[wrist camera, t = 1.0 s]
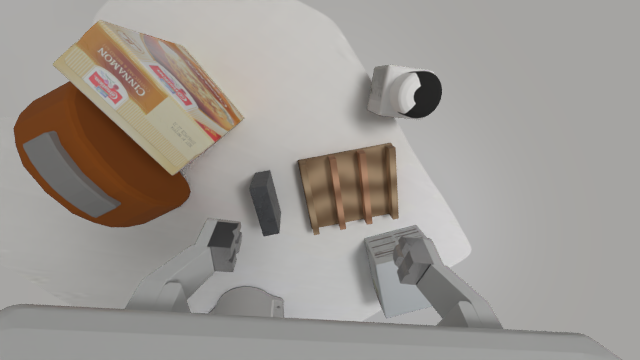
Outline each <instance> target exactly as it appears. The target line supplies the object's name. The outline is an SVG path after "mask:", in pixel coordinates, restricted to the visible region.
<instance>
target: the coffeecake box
mask: <svg viewBox="0 0 640 360" xmlns="http://www.w3.org/2000/svg"><path fill="white" fill-rule="evenodd" d="M53 66H54V67H56V68H57V69H58V70H59V71H60V72H61V73H62V74H63V75H64V76H65V77H66V78H67V79H68V80H69V81H70V82H72V83H73V84H74V85H75V86H76V87H77V88H78V89H79V90H80V91H81V92H82V93H83V94H84V95H86V96H87V97H88V98H89V99H90V100H91V101H92V102H93V103H94V104H95V105H96V106H97V107H98V108H99V109H101V110H102V111H103V112H104V113H105V114H106V115H107V116H108V117H109V118H110V119H111V120H113V121H114V122H115V123H116V124H117V125H118V126H119V127H120V128H121V129H122V130H123V131H124V132H126V133H127V134H128V135H129V136H130V137H131V138H132V139H133V140H134V141H135V142H136V143H137V144H138V145H140V146H141V147H142V148H143V149H144V150H145V151H146V152H147V153H148V154H149V155H150V156H151V157H152V158H154V159H155V160H156V161H157V162H158V163H159V164H160V165H161V166H162V167H163V168H164V169H165V170H166V171H168V172H169V173H170V174H171V175H174V174H176V173H177V172H178V171H180V170H181V169H182V168H184V167H185V166H186V165H188V164H189V163H190V162H192V161H193V160H194V159H196V158H197V157H198V156H199V155H201V154H202V153H203V152H205V151H206V150H207V149H208V148H210V147H211V146H212V145H213V144H215V143H216V142H217V141H218V140H219V139H220V138H222V137H223V136H224V135H225V134H227V133H228V132H229V131H230V130H232V129H233V128H234V127H235V126H236V125H237V124H239V123H240V122H241V121H242V120H243V119H244V117H243V116H242V115H241V114H240V112H239V111H238V110H237V109H236V108H235V106H234V105H233V104H232V103H231V102H230V100H229V99H228V98H227V97H226V96H225V95H224V93H223V92H222V91H221V90H220V89H219V88H218V86H217V85H216V84H215V83H214V82H213V80H212V79H211V78H210V77H209V76H208V75H207V73H206V72H205V71H204V70H203V69H202V68H201V67H200V65H199V64H198V63H197V62H196V61H195V59H194V58H193V57H192V56H191V55H190V54H189V53H188V51H187V50H186V49H185V48H184V47H183V46H181V45H178V44H175V43H171V42H168V41H165V40H162V39H159V38H155V37H152V36H149V35H146V34H142V33H139V32H136V31H133V30H130V29H126V28H123V27H120V26H117V25H113V24H111V23H107V22H104V21H102V20H99V21H98V22H97V23H96V24H95V25H93V26H92V27H91V28H90V29H89V30H88V31H87V32H86V33H85V34H84V35H83V36H82V37H81V38H80V39H79V40H78V41H77V42H76V43H74V44H73V45H72V46H71V47H70V48H69V49H68V50H67V51H66V52H65V53H64V54H63V55H61V56H60V57H59V58H58V59H57V60H56V61H55V62H54V63H53Z"/></svg>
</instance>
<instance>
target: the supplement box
mask: <svg viewBox="0 0 640 360" xmlns="http://www.w3.org/2000/svg"><path fill="white" fill-rule="evenodd" d="M401 236H409V237H420V238H427V237H426V236H425V235H424V234H423V232H422V231H421V230H420V229H419V228H418V226H417V225H415V226H411V227H407V228H403V229H399V230H395V231H391V232H387V233H383V234H379V235H375V236H371V237H368V238H365V243H366V249H367V254H368V259H369V264H370V269H371V274H372V279H373V284H374V289H375V291H376V294H377V297H378V300H379V302H380V305H381V308H382V310H383V312H384V315H385V317H386V318H390V317H394V316H398V315H401V314H405V313H408V312H413V311H416V310H420V309H424V308H428V307H431V306H432V305H431V304H430V302H429V301H428V300H427V299H426V298H425V296H424V295H423V294H422V293H421V291H420V290H419V289H418V288H417V287H416V285H410V284H400V281H399V277H398V274H397V270H398V267H397V266H396V265H395V264H394V260H393V250H394V248H395V246H396V245H398V244H399V241H398V240H399V238H400V237H401Z"/></svg>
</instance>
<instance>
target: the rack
mask: <svg viewBox="0 0 640 360" xmlns="http://www.w3.org/2000/svg"><path fill="white" fill-rule="evenodd" d="M298 164H299V169H300V174H301V179H302V184H303V188H304V193H305V198H306V203H307V208H308V213H309V217H310V222H311V227H312V229H313V232H314V235H317V234H320V233H319V227H324V226H329V225H334V224H339V226H340V229H341V230H342V229H346V224H345V222H349V221H354V220H359V219H364V220H365V222H366V224H372V217H374V216H379V215H385V214H390V216H391V217H392V219H398V195H397V173H396V150H395V147H394V146H392V144H391V143H387V144H382V145H376V146H371V147H366V148H360V149H355V150H350V151H344V152H339V153H334V154H328V155H323V156H318V157H312V158H307V159H302V160H298Z"/></svg>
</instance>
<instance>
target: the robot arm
mask: <svg viewBox="0 0 640 360" xmlns="http://www.w3.org/2000/svg"><path fill="white" fill-rule="evenodd" d="M240 229H241V222H238V221H230V220H221V219H211V218H208V219H207V220H206V222H205V224H204V226H203V228H202V230H201V232H200V234H199V237H198V239H197V241H196V243H195V245H194V246H189V247H188V248H187V249H185V250H184V251H182V252H181V253H180V254H178V255H177V256H175V257H174V258H172V259H171V260H170V261H168V262H167V263H165V264H164V265H162V266H161V267H160V268H158V269H157V270H155V271H154V272H153V273H151V274H150V275H148V276H147V277H145V278H144V279H143V280H142V281H141V283H140V284H139V286H138V288H137V289H136V291H135V293H134V294H133V296H132V298H131V299H130V301H129V303H128V304H127V306H126V308H125V309H110V308H91V307H72V306H53V305H52V306H51V305H33V304H19V305H13V306H9V307H6V308H4V309H2V310H0V360H622V359H621V358H619V357H618V356H616V355H615V354H613V353H612V352H611V351H609V350H608V349H607V348H605V347H604V346H602V345H601V344H599V343H598V342H596V341H595V340H593V339H592V338H590V337H588V336H586V335H584V334H580V333H568V332H547V331H527V330H508V329H503V328H502V326H501V324H500V322H499V320H498V318H497V317H496V315H495V313H494V311H493V309H492V307H491V306H490V304H489V302H488V301H487V300H485V299H484V298H483V297H482V296H481V295H479V293H477V292H476V291H475V290H474V289H473V288H472V287H471V286H469V285H468V284H467V283H466V282H465V281H464V280H463V279H461V278H460V277H459V276H458V275H457V274H456V273H454V272H453V271H452V270H451V269H450V268H449V267H448V266H445V265H444V264H443V262H442V260H441V258H440V256H439V254H438V252H437V250H436V247H435V245H434V243H433V241H432V240H431V239H430V238H420V237H409V236H401V237H400V238H399V240H398V241H399V244H398V245H396V246H395V248H394V250H393V260H394V264H395V265H396V266H397V267H398V270H397V274H398V277H399V281H400V284H410V285H416V287H417V288H418V289H419V290H420V291H421V293H422V294H423V295H424V296H425V298H426V299H427V300H428V301H429V302H430V304H431V305H432V306H433V307H434V308H435V310H436V311H437V312H438V313H439V315H440V316H441V317H442V318H443V319H442V320H441V321H440V322H439V323H438V324H437V325H436V326H432V325H413V324H394V323H375V322H356V321H337V320H319V319H299V318H284V311H283V300H282V299H281V298H279V297H275V296H271V295H269V294H268V293H266V292H265V291H263V290H260V289H257V288H253V287H240V288H235V289H232V290H230V291H228V292H226V293H225V294H224V295H222V296H221V298H220V299H219V301H218V303H217V305H216V307H215V308H214V309H213V310H212V311H211V312H210V313H209V314H204V313H191V312H190V309H189V306H188V303H187V299H188V298H189V297H190V296H191V295H192V294H193V293H194V292H195V291H196V290H197V289H198V288H199V287H200V286H201V285H202V284H203V283H204V282H205V281H206V280H207V279H208V278H209V277H210V276H211V275H212V274H213V273H214V271H224V272H233V270H234V267H235V264H236V260H237V258H236V254H237V253H238V252H239V250H240V246H241V239H242V233H241V232H240Z"/></svg>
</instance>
